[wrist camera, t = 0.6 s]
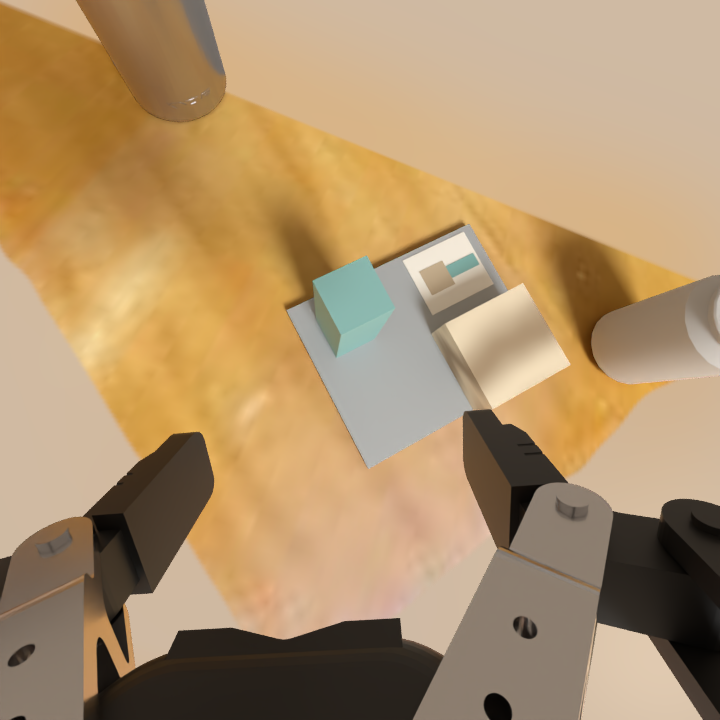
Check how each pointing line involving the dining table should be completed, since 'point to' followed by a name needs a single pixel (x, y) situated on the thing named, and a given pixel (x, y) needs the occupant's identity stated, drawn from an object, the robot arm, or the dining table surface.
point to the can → (662, 336)
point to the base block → (500, 349)
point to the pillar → (351, 305)
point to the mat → (405, 347)
